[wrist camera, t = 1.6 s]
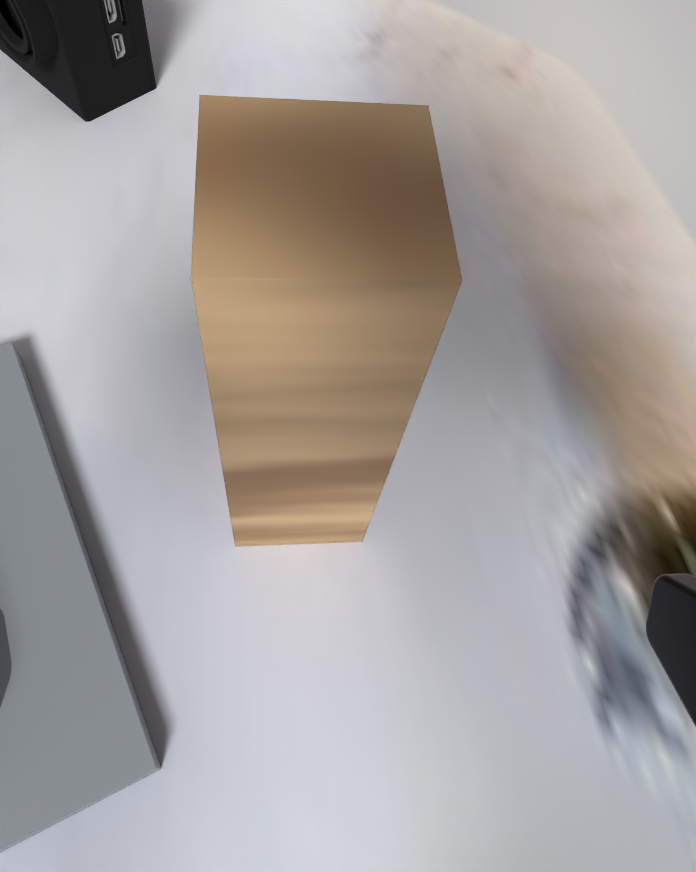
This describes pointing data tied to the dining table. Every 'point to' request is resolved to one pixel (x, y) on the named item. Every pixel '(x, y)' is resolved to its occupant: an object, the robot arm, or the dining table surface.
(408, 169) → the oak block
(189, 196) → the dining table surface
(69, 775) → the ridge stand
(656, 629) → the robot arm
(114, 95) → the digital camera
